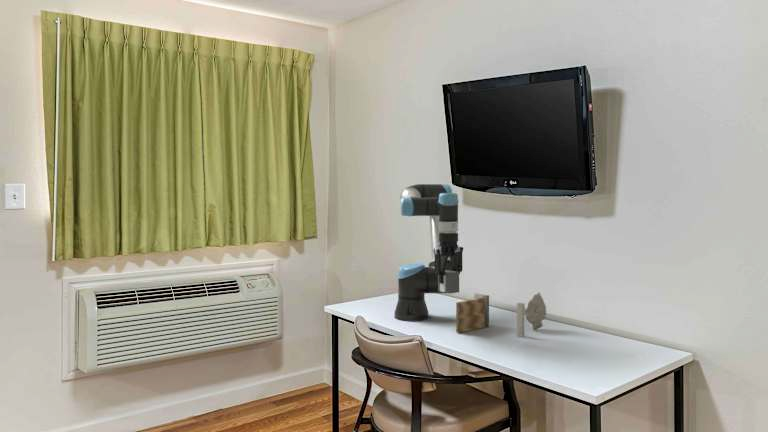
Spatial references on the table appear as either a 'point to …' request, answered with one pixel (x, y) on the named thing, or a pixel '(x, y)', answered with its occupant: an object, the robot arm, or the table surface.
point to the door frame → (519, 314)
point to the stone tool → (536, 311)
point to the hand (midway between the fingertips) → (448, 290)
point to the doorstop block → (451, 281)
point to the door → (470, 315)
